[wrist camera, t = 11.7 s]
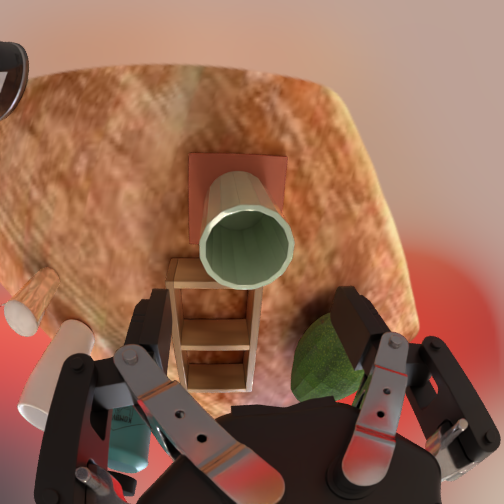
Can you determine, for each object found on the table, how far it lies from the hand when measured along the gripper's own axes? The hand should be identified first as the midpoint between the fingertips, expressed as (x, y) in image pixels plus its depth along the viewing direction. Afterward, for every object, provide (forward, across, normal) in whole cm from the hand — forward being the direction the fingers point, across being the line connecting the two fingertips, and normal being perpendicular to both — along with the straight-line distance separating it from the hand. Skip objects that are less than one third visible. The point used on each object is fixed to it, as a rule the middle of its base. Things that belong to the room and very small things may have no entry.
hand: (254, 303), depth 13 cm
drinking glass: (+16, +21, +18) cm, 32 cm away
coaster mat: (+16, 0, 0) cm, 16 cm away
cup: (+15, 0, 0) cm, 16 cm away
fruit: (+16, -12, +18) cm, 27 cm away
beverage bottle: (+16, +13, +23) cm, 31 cm away
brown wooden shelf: (+16, +2, +15) cm, 22 cm away
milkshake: (+16, +23, +9) cm, 30 cm away
